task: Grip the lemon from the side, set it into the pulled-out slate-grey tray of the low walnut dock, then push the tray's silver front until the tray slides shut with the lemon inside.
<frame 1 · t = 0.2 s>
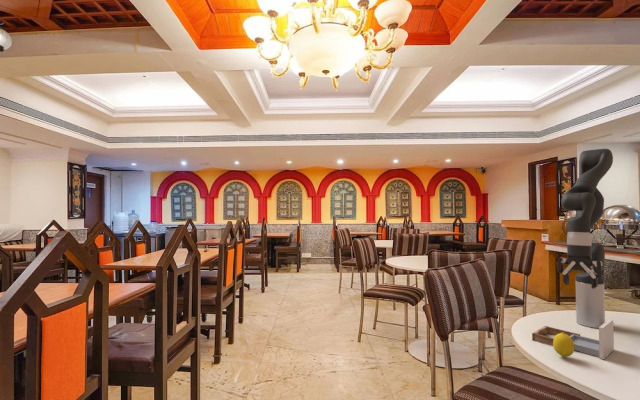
hand: (579, 286, 130), 18 cm above the table, tool pointing down, fingers open, 8 cm apart
lemon: (563, 358, 109), on the table
tray: (587, 333, 115), point 5 cm above the table, slide at 8.0 cm
dock: (558, 341, 122), on the table
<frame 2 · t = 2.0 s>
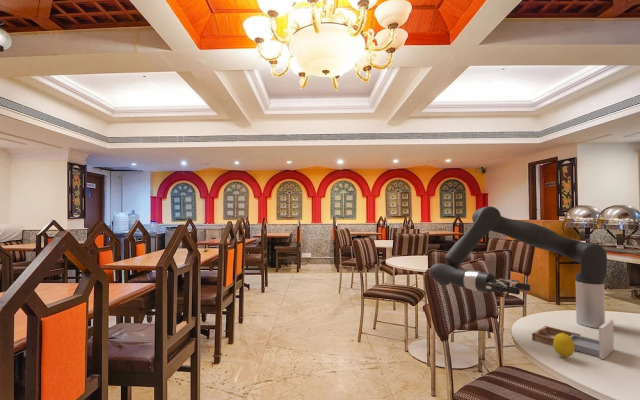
hand: (524, 289, 118), 20 cm above the table, tool horizontal, fingers open, 8 cm apart
nothing on the table moved.
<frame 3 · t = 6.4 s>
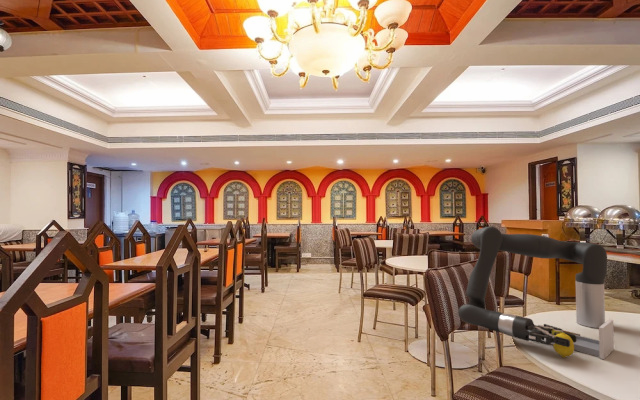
hand: (572, 341, 107), 6 cm above the table, tool horizontal, fingers closed on lemon, 5 cm apart
lemon: (563, 358, 109), on the table, touching gripper
everything else where it was.
when the fingers open (8 cm above the table, at t = 11.8 s): lemon stays where it is, resting on tray.
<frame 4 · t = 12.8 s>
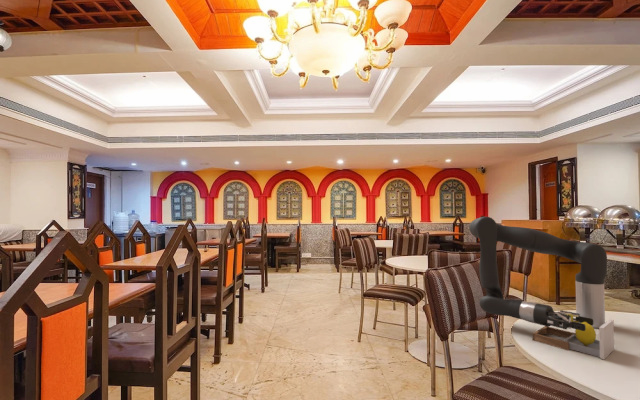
hand: (589, 324, 115), 8 cm above the table, tool horizontal, fingers open, 8 cm apart
lemon: (585, 346, 115), point 1 cm above the table, touching tray
tray: (587, 333, 115), point 5 cm above the table, slide at 8.1 cm, touching lemon
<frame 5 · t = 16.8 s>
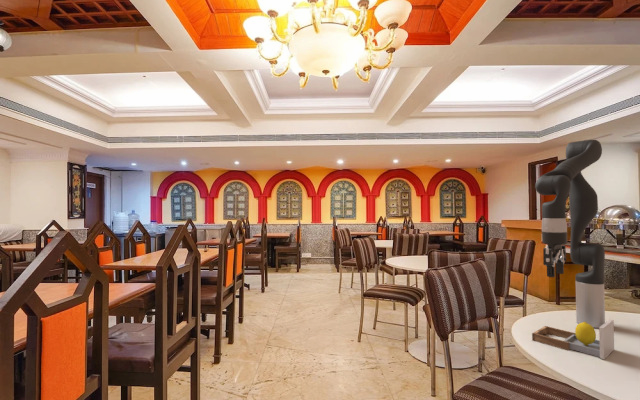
hand: (555, 275, 123), 24 cm above the table, tool pointing down, fingers open, 8 cm apart
nothing on the table moved.
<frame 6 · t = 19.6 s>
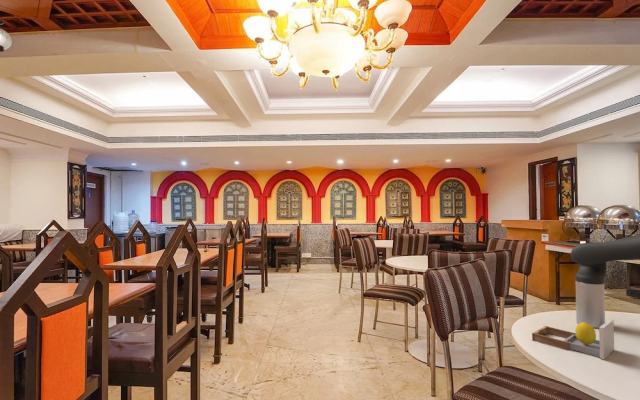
hand: (626, 291, 107), 21 cm above the table, tool horizontal, fingers closed
nothing on the table moved.
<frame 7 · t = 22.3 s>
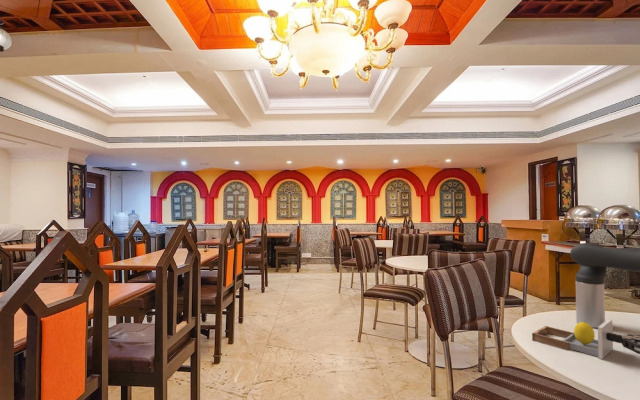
hand: (607, 335, 111), 6 cm above the table, tool horizontal, fingers closed
tray: (586, 333, 115), point 5 cm above the table, slide at 7.7 cm, touching gripper, lemon
everything else where it was.
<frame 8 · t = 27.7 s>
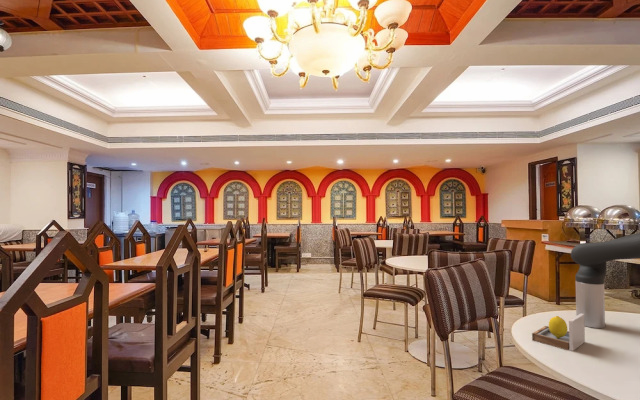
lemon: (558, 338, 122), point 1 cm above the table, touching tray
tray: (559, 327, 122), point 5 cm above the table, slide at 0.0 cm, touching lemon
at the end: tray slide at 0.0 cm; lemon inside the target area on the dock (0.4 cm from its centre), point 0.8 cm above the dock's base; the gripper is holding nothing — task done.
